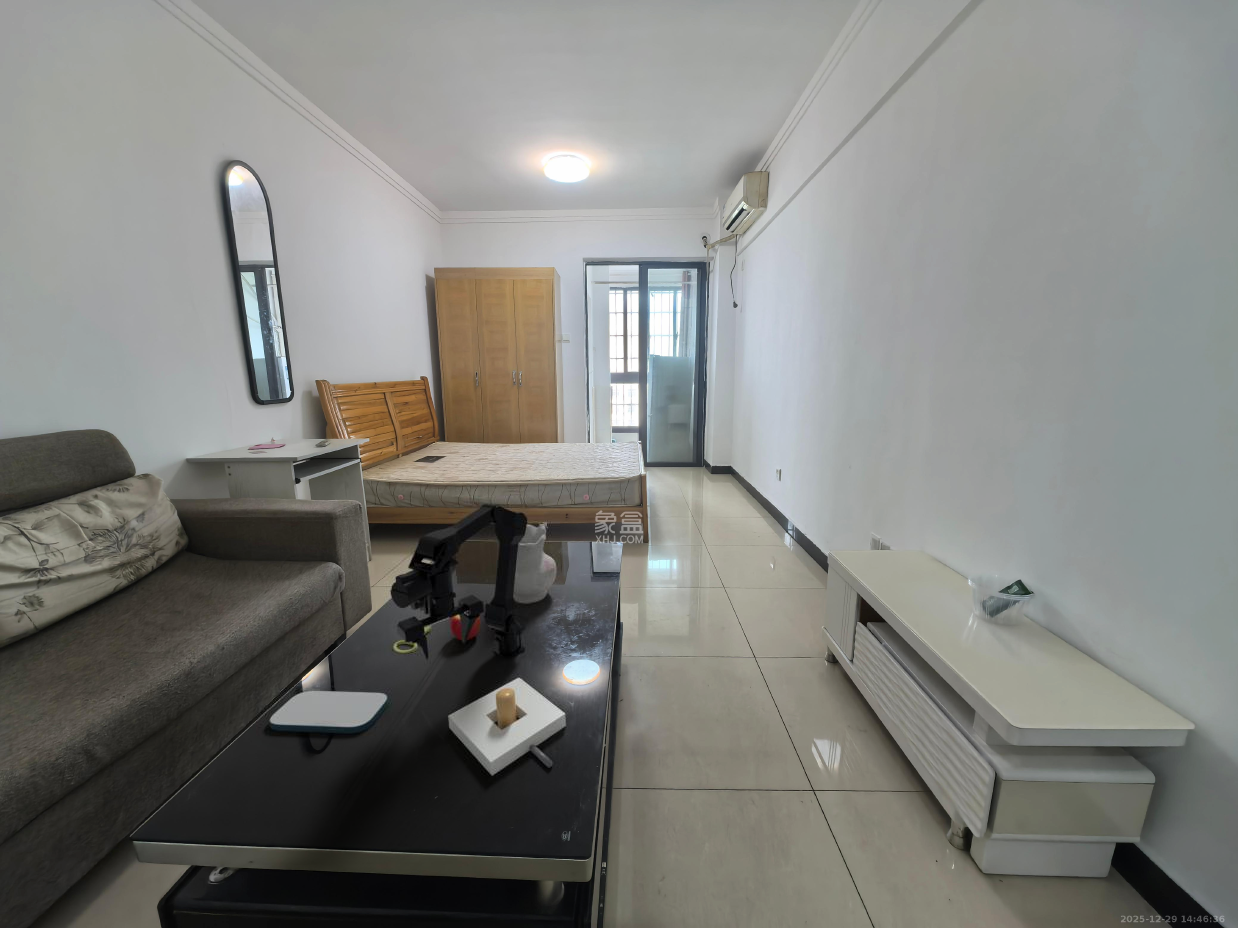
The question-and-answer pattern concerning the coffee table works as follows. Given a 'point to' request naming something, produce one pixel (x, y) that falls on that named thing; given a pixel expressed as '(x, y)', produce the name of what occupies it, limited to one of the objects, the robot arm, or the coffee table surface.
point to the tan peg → (506, 707)
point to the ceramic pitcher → (533, 567)
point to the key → (408, 643)
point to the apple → (456, 627)
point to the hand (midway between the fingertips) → (445, 650)
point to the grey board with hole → (514, 740)
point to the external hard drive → (329, 712)
